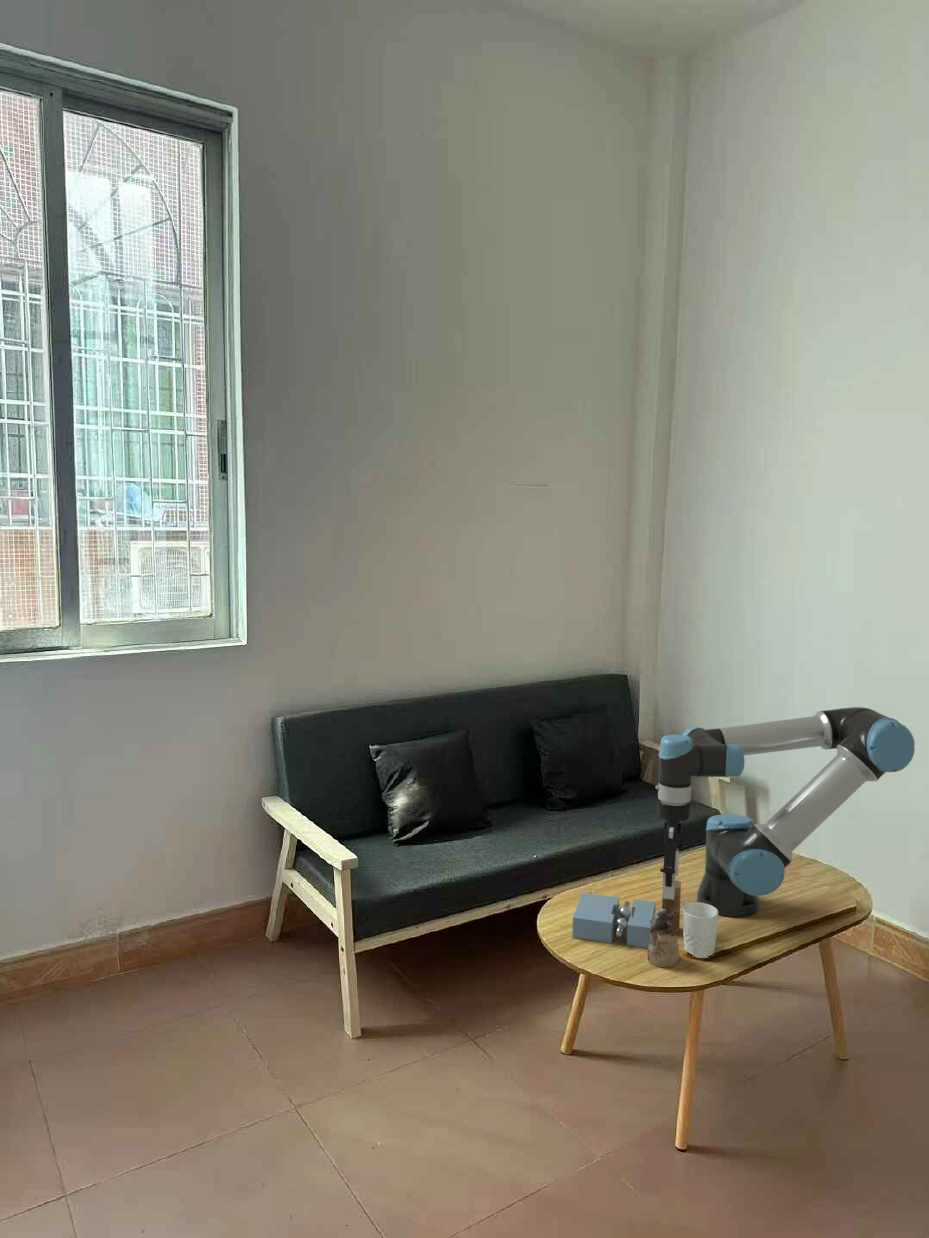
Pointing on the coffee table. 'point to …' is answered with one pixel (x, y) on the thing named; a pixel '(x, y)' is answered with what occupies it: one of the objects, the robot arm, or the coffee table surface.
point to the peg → (674, 905)
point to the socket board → (611, 919)
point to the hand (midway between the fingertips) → (670, 886)
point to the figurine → (663, 940)
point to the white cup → (699, 929)
